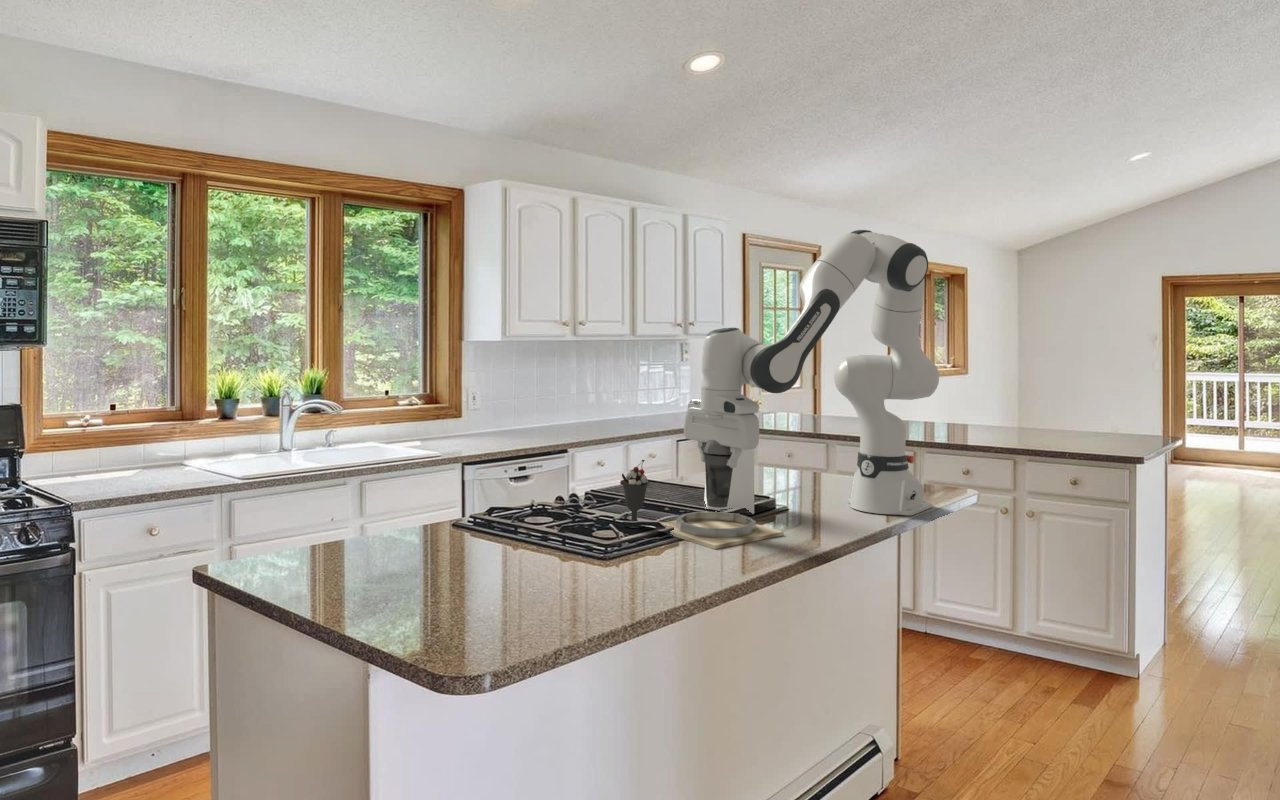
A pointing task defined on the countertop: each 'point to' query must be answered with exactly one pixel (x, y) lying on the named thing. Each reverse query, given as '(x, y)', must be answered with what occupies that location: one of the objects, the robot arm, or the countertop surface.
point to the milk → (741, 483)
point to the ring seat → (719, 529)
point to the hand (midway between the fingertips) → (718, 464)
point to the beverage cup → (717, 474)
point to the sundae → (634, 490)
